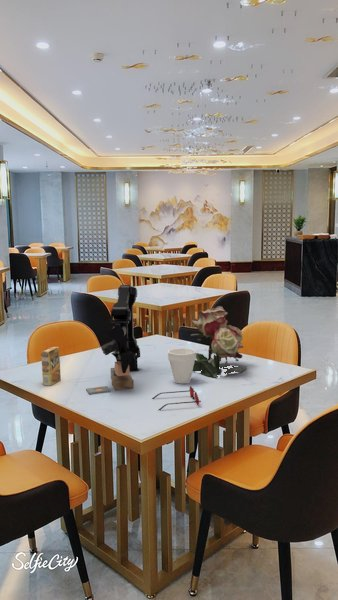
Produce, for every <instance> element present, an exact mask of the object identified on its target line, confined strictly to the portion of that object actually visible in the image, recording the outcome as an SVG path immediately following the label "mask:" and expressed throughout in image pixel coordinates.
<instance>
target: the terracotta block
mask: <svg viewBox="0 0 338 600" xmlns="http://www.w3.org/2000/svg"><path fill="white" fill-rule="evenodd" d="M114 368H115V374H116V375H117V376H123V375H130V371H129V366H128V368H127V370H126V372H125V373H123V372H122V367H121V362H120V361H114Z"/></svg>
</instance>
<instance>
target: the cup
mask: <svg viewBox="0 0 338 600" xmlns="http://www.w3.org/2000/svg"><path fill="white" fill-rule="evenodd" d="M196 353H197V351H196V350H195V349H193V348H189V347H177V348H176V347H175V348H172V349H169V350H167V358H168V361H169V366H170V369H171V373H172V378H173V381H175V382H176V383H175V382H174V383H175V384H177V383H187V384H189V383H191V379H192V375H193V372H192V371H193V366H194V362H195V360H197V359H196ZM188 382H189V383H188Z"/></svg>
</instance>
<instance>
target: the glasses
mask: <svg viewBox="0 0 338 600" xmlns="http://www.w3.org/2000/svg"><path fill="white" fill-rule="evenodd" d="M194 389H195V388H194V387H192V385H190V386H189V390H181V391H180V390H179V391H178V390H177V391H167V392H160V393H157V394H155V396H153V397H152V398H151V400H154V399H155V398H157V397H158V396H160V395H161V394H173V393H186V392H187V393H188V392H189V395H190V396H189V397H190V398H192V400H195V401H184V402H183V401H182V402H171V403H165V404H164V405H163V406H161V407H160V408H158V410H160V411H161V410H162V409H163V408H165V407H166V406H168V405H178V404H179V405H180V404H190V403H195V404H197V405H196V406H199V404H200V403H201V402H202V401H201V400H199V396H198V393H197V391H195V390H194Z"/></svg>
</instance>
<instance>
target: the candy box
mask: <svg viewBox="0 0 338 600" xmlns="http://www.w3.org/2000/svg"><path fill="white" fill-rule="evenodd" d="M40 352H41V353H40V355H41V370H42V385H43V386H52V385H54V384H56V383H59V382H60V381H61V380H62V375H61V360H60V359H61V358H60V347H59V346H50V347H48V348H46V349H44V350H41V351H40Z"/></svg>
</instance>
